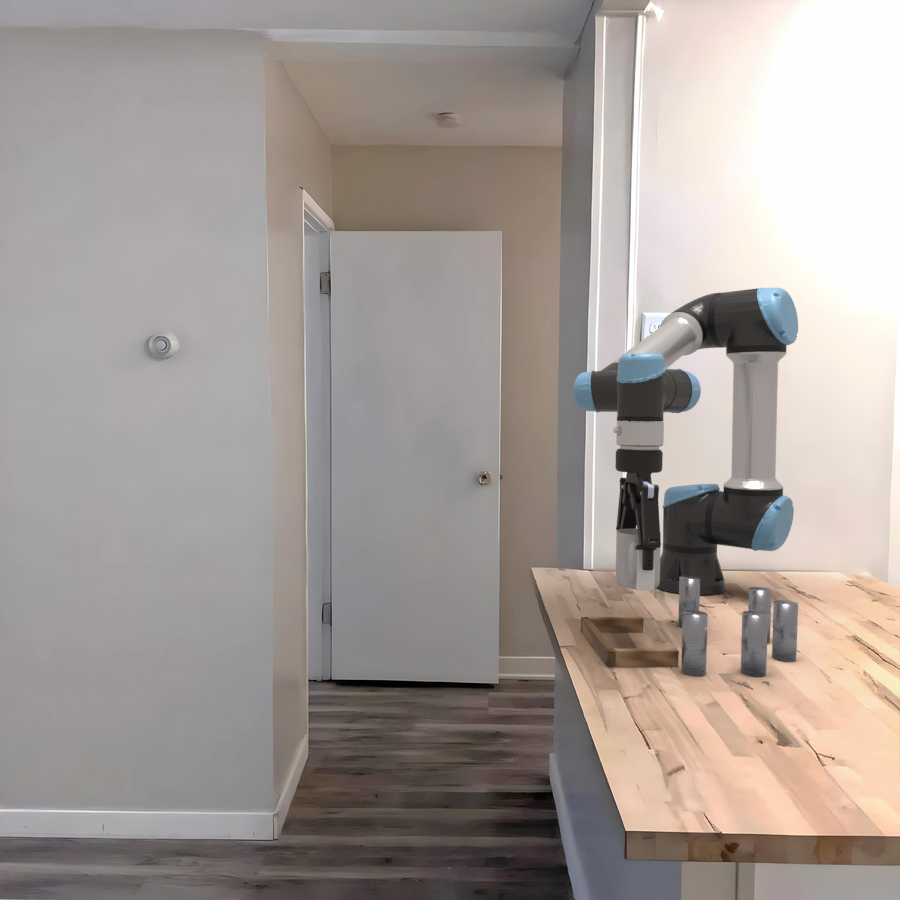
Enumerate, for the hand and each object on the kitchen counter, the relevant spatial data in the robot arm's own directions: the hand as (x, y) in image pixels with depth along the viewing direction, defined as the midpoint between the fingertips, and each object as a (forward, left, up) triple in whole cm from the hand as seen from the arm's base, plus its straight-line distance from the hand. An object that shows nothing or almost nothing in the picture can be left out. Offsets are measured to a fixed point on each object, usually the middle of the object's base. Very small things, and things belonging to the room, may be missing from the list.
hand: (635, 582), depth 125 cm
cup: (0, 0, -1) cm, 1 cm away
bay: (+1, 0, -11) cm, 11 cm away
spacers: (-14, 0, -11) cm, 17 cm away
